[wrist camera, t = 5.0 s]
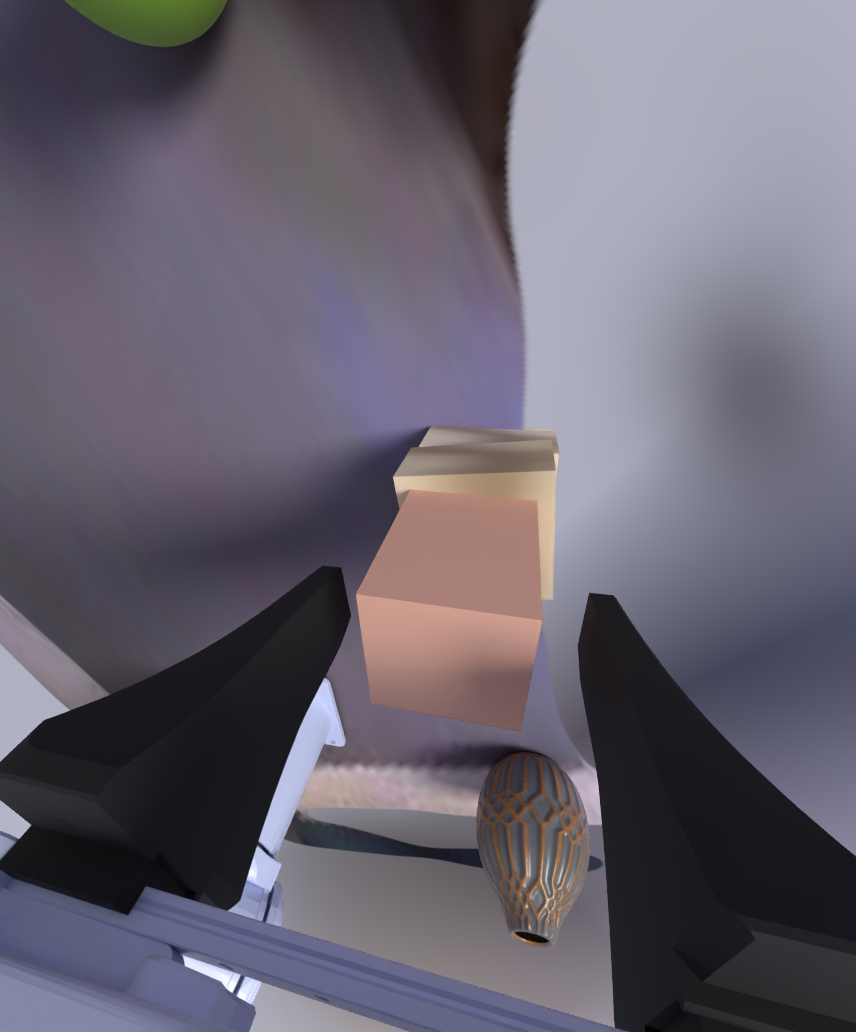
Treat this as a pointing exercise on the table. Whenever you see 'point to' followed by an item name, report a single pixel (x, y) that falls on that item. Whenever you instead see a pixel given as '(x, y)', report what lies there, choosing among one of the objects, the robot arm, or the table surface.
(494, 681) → the block
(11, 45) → the table surface
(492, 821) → the vase
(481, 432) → the tower base
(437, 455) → the tower top
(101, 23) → the snail figurine
